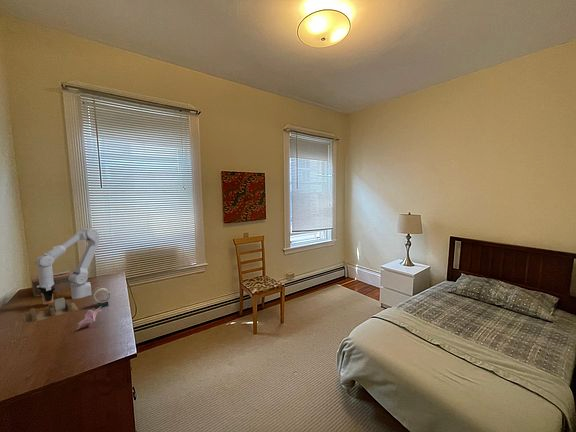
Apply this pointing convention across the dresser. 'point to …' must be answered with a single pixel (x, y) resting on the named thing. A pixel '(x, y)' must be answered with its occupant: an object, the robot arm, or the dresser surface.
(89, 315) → the lily
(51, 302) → the terracotta plug
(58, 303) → the grey plug
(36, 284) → the tissue box cover
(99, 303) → the watch
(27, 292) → the dresser surface
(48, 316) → the cable comb
